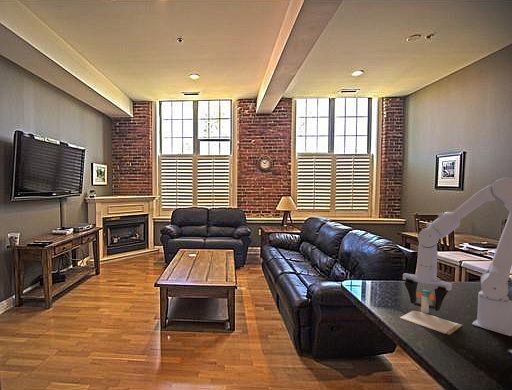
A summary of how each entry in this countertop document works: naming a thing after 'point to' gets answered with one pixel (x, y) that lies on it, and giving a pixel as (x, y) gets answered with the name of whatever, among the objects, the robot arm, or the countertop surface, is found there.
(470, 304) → the countertop surface
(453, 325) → the notepad
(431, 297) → the phone
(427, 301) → the marker
